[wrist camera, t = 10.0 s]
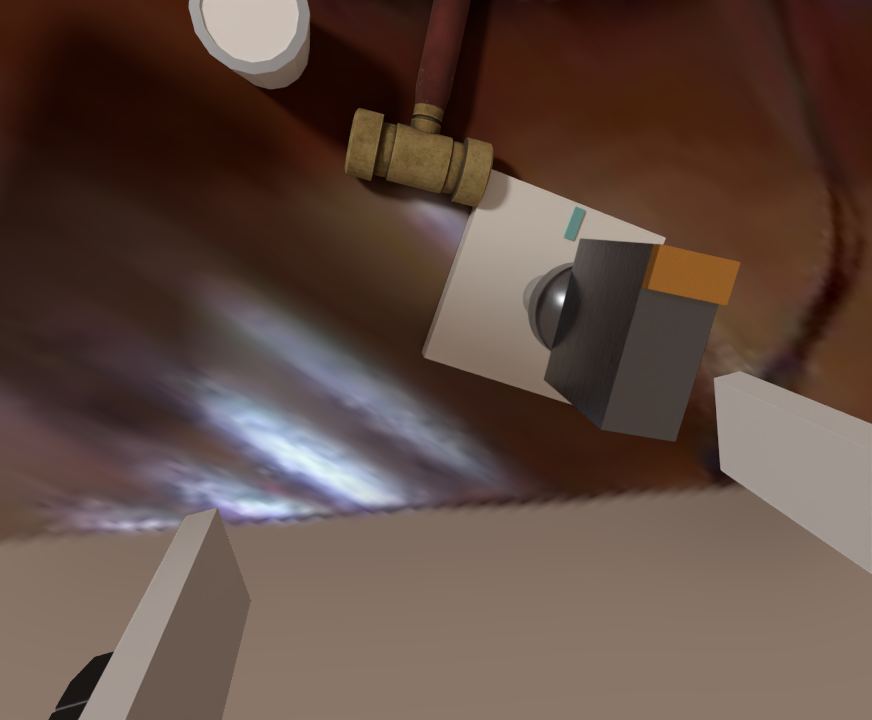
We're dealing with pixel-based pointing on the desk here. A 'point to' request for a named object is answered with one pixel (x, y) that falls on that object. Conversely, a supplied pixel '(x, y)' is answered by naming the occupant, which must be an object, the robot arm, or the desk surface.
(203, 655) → the robot arm
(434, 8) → the gavel
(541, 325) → the grey block orange cap
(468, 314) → the base
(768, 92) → the desk surface
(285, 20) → the shot glass
